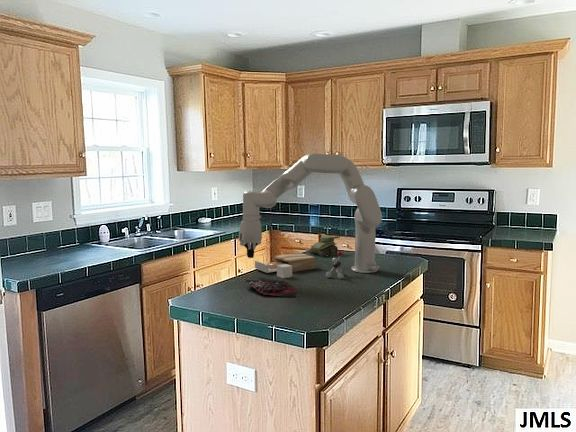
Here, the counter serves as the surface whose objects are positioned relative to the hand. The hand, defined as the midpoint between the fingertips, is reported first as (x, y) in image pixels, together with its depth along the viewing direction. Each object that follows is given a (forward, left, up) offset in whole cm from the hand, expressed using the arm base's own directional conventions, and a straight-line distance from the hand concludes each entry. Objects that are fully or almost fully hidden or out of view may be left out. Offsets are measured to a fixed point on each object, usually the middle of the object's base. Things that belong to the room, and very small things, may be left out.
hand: (250, 257), depth 225 cm
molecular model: (-24, -32, -8) cm, 41 cm away
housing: (0, -25, -8) cm, 26 cm away
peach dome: (0, -13, -6) cm, 14 cm away
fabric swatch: (-29, +6, -9) cm, 30 cm away
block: (-12, -11, -8) cm, 18 cm away
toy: (+18, -60, -8) cm, 63 cm away
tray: (0, -13, -7) cm, 14 cm away
